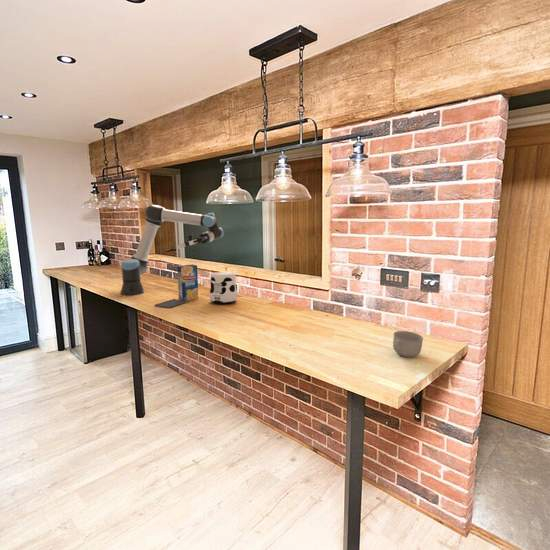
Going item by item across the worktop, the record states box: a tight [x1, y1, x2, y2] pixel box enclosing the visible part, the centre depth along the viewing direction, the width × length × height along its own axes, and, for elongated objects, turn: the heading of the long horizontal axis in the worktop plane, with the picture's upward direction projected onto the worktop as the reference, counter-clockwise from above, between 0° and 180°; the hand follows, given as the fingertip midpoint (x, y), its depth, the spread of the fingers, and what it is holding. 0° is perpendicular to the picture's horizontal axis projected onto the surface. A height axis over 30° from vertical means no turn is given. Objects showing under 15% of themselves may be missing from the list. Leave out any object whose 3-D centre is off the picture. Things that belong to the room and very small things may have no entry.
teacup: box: [392, 330, 424, 358], centre depth 140 cm, size 14×11×8 cm
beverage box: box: [176, 264, 199, 301], centre depth 237 cm, size 7×11×22 cm, turn 125°
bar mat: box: [154, 298, 191, 309], centre depth 225 cm, size 12×18×1 cm, turn 154°
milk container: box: [209, 271, 238, 305], centre depth 228 cm, size 17×17×18 cm
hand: (183, 245), depth 244 cm, fingers open, 13 cm apart
